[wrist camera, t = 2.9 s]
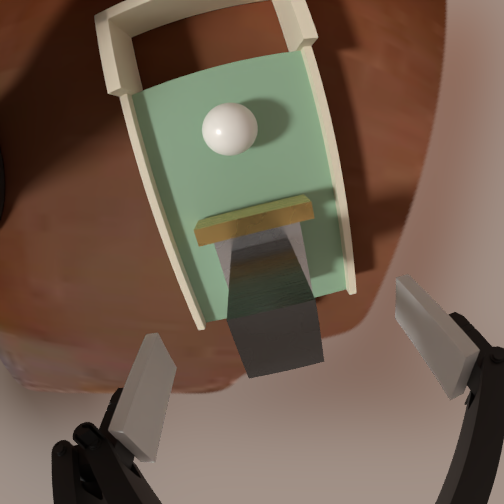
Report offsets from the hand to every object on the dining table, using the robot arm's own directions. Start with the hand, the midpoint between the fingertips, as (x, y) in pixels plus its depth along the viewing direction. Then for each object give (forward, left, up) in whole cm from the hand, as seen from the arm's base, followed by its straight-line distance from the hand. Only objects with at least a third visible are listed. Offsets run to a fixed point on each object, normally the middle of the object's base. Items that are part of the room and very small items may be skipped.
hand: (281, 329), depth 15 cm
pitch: (0, +9, -11) cm, 14 cm away
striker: (0, -1, -9) cm, 9 cm away
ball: (0, +10, -7) cm, 13 cm away
